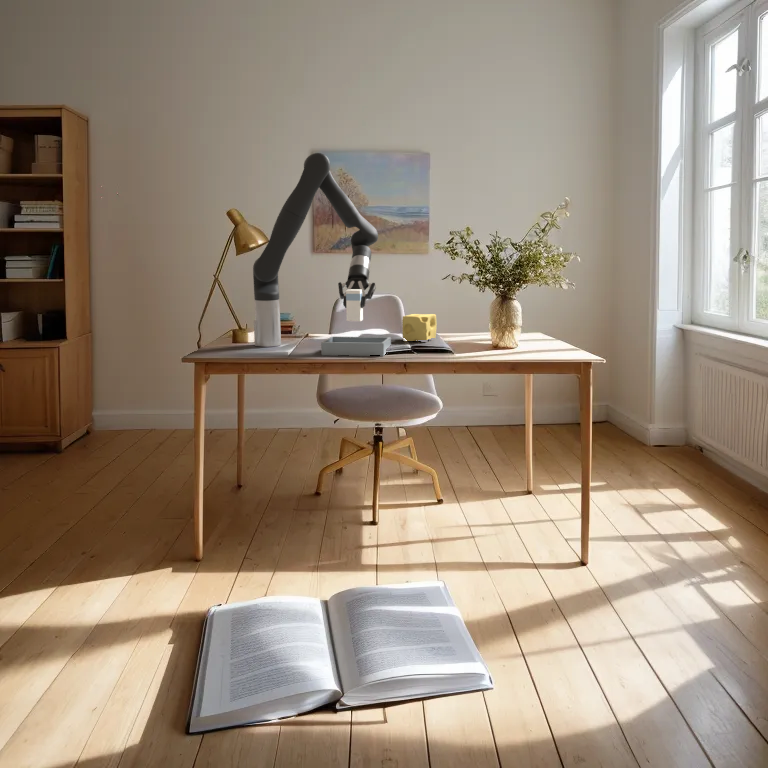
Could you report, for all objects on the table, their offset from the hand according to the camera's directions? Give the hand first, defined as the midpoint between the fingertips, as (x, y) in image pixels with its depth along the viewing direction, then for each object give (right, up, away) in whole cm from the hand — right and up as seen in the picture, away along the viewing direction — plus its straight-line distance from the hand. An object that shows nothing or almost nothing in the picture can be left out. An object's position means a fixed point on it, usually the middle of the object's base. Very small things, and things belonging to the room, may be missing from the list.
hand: (353, 306), depth 292 cm
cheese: (+24, -11, +27) cm, 38 cm away
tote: (+1, -16, -1) cm, 16 cm away
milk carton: (0, -5, +3) cm, 6 cm away
